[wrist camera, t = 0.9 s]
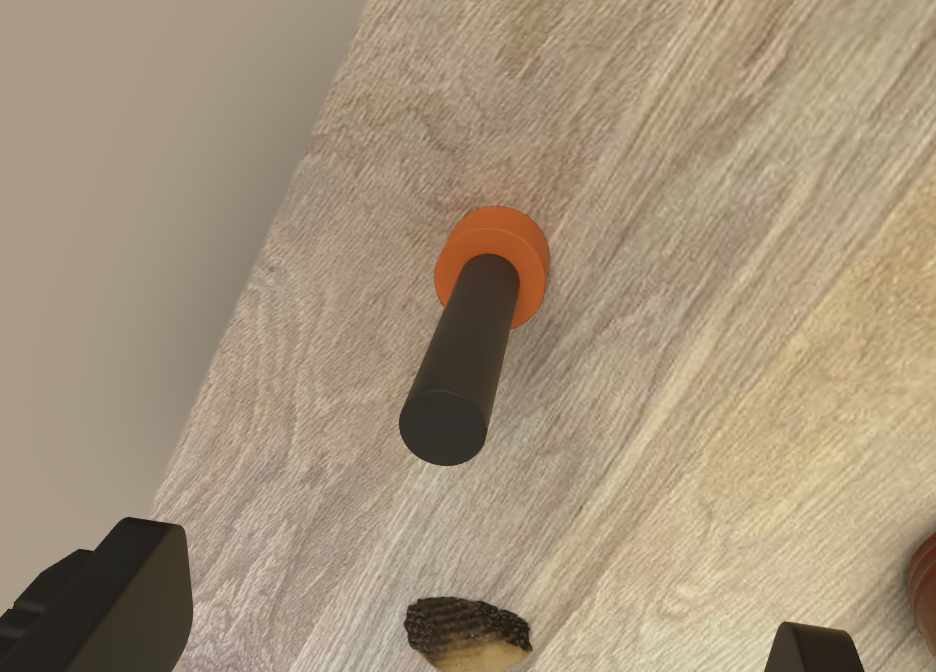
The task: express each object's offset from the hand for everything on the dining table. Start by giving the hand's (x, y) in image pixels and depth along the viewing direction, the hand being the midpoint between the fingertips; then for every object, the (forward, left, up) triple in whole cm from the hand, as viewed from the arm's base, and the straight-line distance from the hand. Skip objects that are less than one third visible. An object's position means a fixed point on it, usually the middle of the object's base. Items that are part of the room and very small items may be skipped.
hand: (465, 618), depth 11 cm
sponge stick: (+2, -3, -24) cm, 25 cm away
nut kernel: (+21, -12, -24) cm, 35 cm away
